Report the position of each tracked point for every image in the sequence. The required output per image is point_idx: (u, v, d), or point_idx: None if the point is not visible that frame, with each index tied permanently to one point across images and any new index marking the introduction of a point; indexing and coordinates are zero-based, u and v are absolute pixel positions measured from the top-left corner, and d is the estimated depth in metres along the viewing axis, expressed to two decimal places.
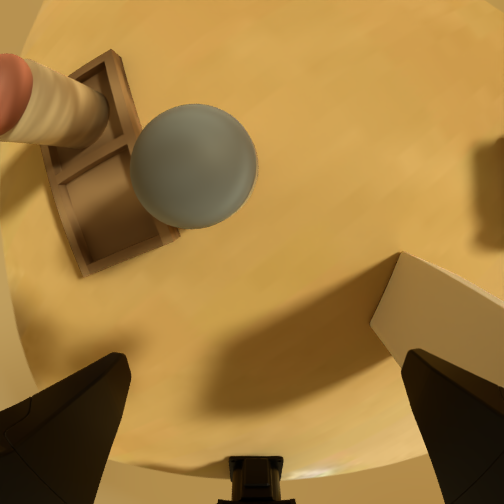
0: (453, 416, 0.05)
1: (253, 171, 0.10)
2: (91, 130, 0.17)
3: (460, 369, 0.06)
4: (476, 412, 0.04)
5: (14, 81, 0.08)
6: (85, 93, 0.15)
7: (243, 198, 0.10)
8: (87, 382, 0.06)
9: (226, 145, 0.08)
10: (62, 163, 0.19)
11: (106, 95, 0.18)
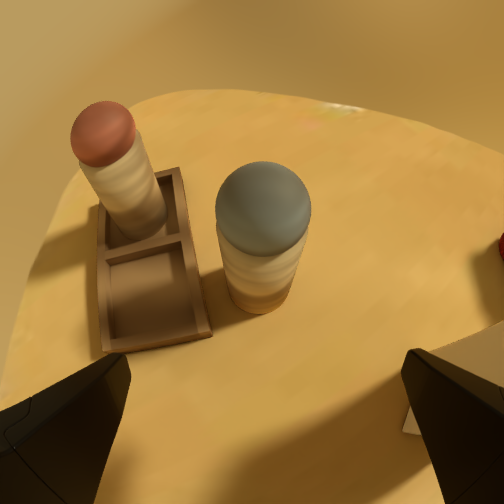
0: (453, 416, 0.05)
1: (310, 209, 0.14)
2: (152, 220, 0.23)
3: (460, 369, 0.06)
4: (476, 412, 0.04)
5: (128, 125, 0.16)
6: (157, 185, 0.23)
7: (303, 225, 0.13)
8: (87, 382, 0.06)
9: (296, 179, 0.13)
10: (112, 247, 0.24)
11: (167, 204, 0.26)
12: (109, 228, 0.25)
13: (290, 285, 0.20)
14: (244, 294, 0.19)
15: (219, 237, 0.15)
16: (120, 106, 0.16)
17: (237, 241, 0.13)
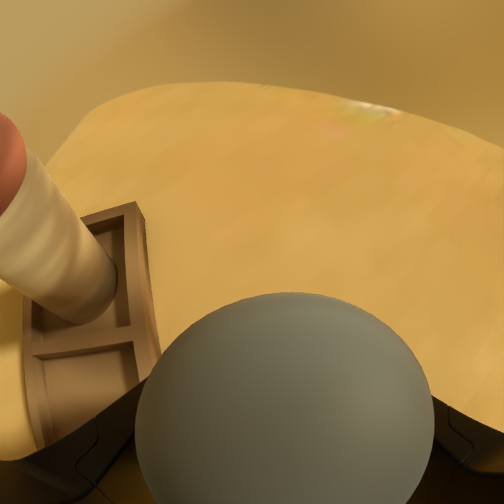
0: None
1: None
2: (88, 302, 0.13)
3: None
4: None
5: None
6: (90, 245, 0.12)
7: None
8: None
9: (423, 401, 0.03)
10: (45, 331, 0.14)
11: (117, 263, 0.16)
12: None
13: None
14: None
15: None
16: None
17: None
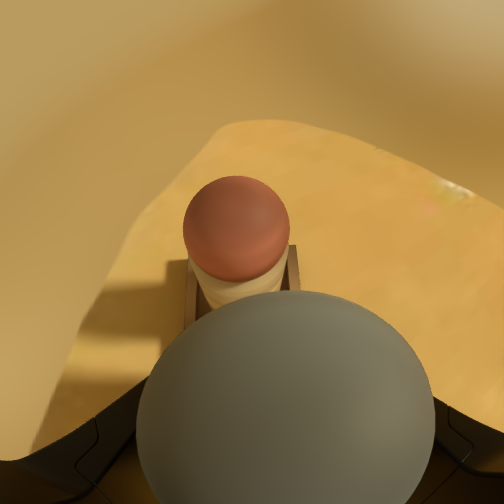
0: None
1: None
2: None
3: None
4: None
5: (286, 237, 0.12)
6: None
7: None
8: None
9: (424, 398, 0.03)
10: None
11: None
12: (198, 305, 0.22)
13: None
14: None
15: None
16: (277, 199, 0.12)
17: None
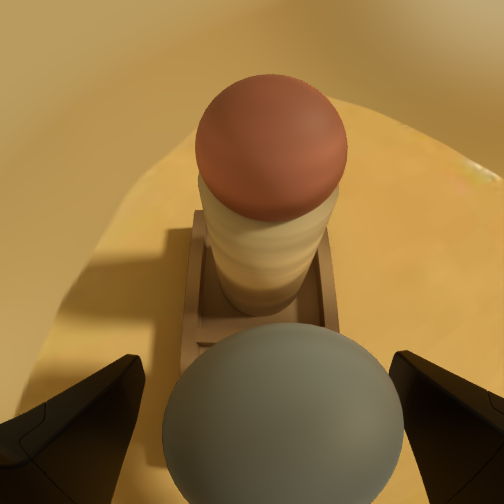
0: (440, 421, 0.05)
1: None
2: (288, 299, 0.15)
3: (448, 372, 0.06)
4: (462, 418, 0.04)
5: (346, 155, 0.08)
6: None
7: None
8: (103, 385, 0.06)
9: (390, 415, 0.03)
10: (205, 316, 0.17)
11: None
12: (203, 280, 0.18)
13: None
14: None
15: None
16: None
17: None
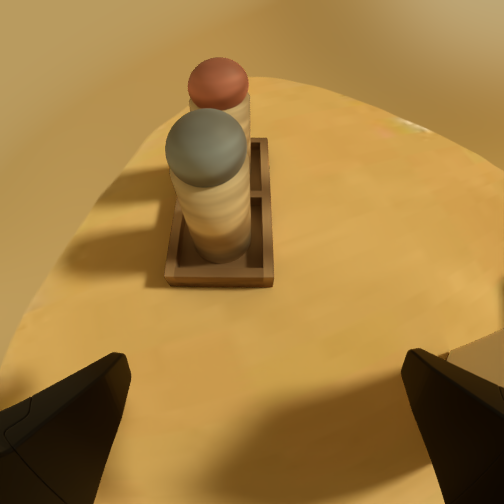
0: (453, 416, 0.05)
1: (244, 143, 0.15)
2: None
3: (460, 369, 0.06)
4: (476, 412, 0.04)
5: (245, 82, 0.19)
6: (250, 144, 0.26)
7: (235, 154, 0.15)
8: (87, 382, 0.06)
9: (229, 118, 0.14)
10: None
11: None
12: None
13: (246, 231, 0.22)
14: (200, 237, 0.21)
15: (170, 175, 0.17)
16: None
17: (178, 170, 0.15)
